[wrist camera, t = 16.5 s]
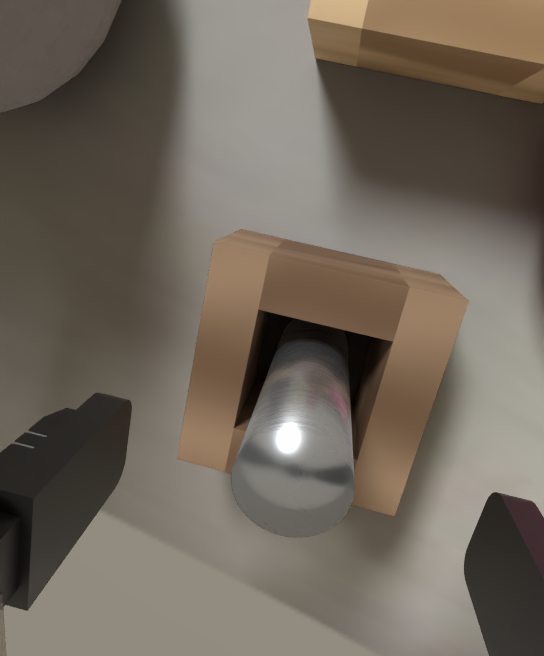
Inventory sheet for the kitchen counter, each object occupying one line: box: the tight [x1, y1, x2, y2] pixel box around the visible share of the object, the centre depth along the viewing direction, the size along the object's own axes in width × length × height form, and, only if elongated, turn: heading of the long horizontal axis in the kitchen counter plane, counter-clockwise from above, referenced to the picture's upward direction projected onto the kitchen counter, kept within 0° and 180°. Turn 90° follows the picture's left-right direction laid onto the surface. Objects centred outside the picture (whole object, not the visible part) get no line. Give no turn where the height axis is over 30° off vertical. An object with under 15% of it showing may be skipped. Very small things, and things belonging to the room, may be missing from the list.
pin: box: [231, 318, 355, 537], centre depth 16 cm, size 3×3×10 cm
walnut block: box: [177, 229, 468, 516], centre depth 18 cm, size 8×8×4 cm
